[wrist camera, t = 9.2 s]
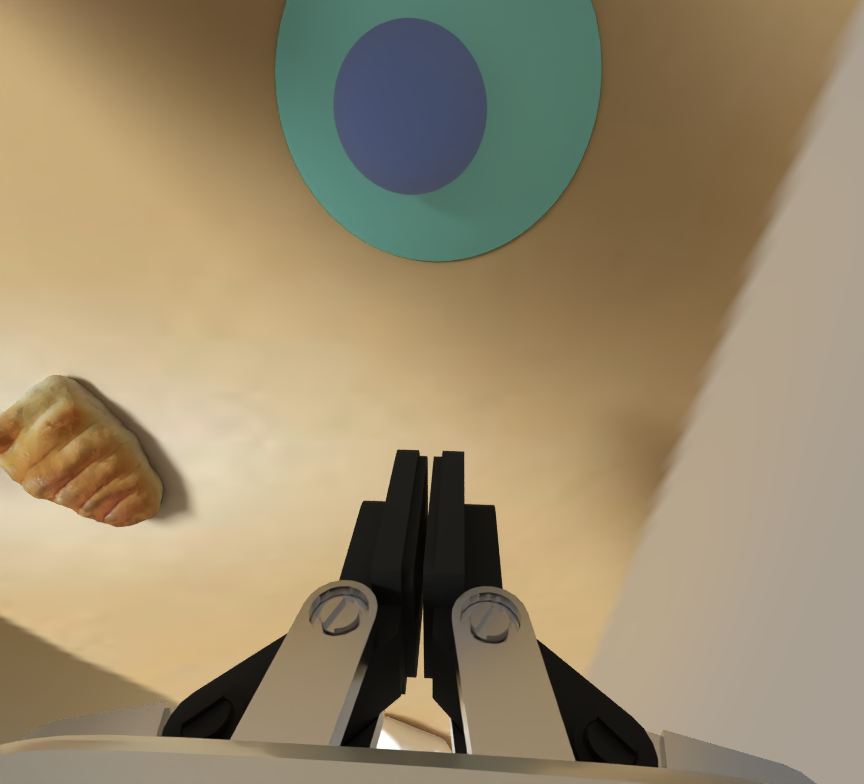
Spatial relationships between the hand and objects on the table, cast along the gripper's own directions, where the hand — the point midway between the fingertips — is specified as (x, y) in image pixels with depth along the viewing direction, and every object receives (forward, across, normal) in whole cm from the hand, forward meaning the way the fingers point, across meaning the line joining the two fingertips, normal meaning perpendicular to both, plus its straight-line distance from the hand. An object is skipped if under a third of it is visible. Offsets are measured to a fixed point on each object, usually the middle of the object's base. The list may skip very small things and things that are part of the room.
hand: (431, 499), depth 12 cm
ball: (+10, +1, -9) cm, 14 cm away
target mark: (+13, +1, -10) cm, 16 cm away
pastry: (+14, +20, +7) cm, 26 cm away
